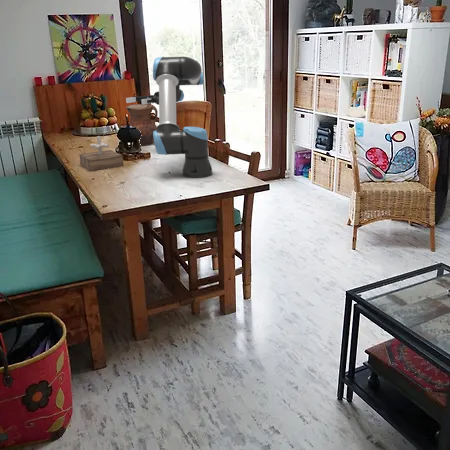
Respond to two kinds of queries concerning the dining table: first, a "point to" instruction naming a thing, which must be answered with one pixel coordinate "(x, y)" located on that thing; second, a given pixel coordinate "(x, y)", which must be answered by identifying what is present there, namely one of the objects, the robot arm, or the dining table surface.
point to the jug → (143, 121)
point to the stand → (101, 160)
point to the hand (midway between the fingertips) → (134, 101)
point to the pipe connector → (99, 145)
